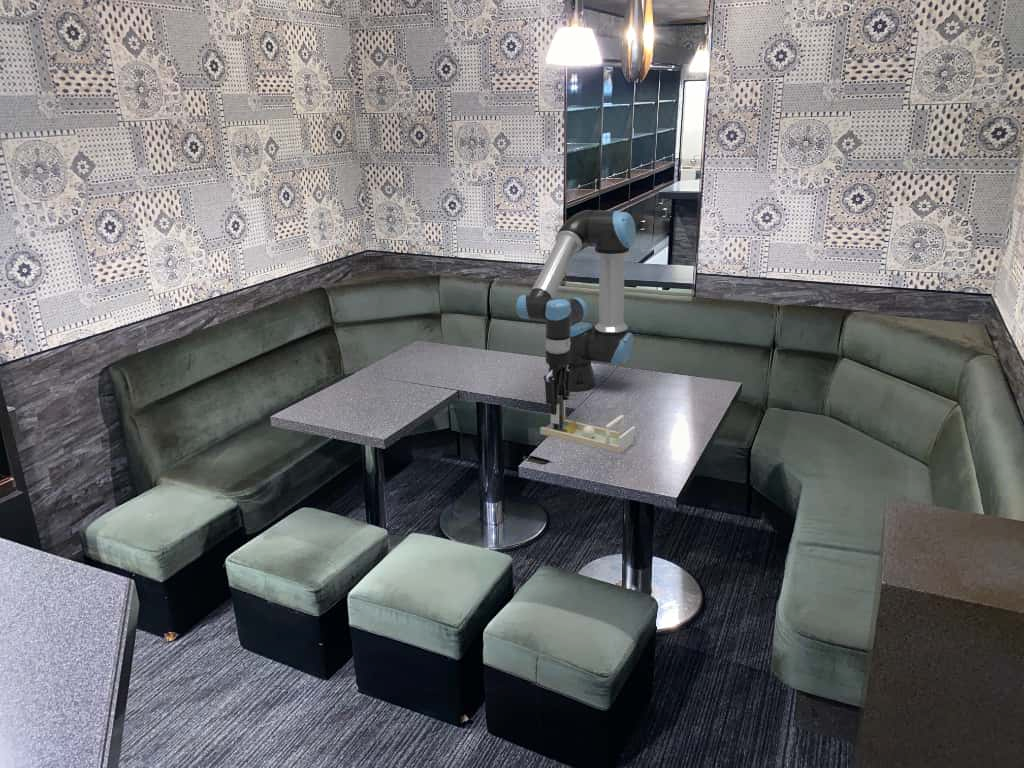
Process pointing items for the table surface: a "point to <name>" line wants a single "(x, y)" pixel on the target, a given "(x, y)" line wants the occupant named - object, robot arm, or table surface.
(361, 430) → the table surface
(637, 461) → the table surface
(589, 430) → the ball
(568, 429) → the rod
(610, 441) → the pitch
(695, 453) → the table surface
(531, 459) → the phone
